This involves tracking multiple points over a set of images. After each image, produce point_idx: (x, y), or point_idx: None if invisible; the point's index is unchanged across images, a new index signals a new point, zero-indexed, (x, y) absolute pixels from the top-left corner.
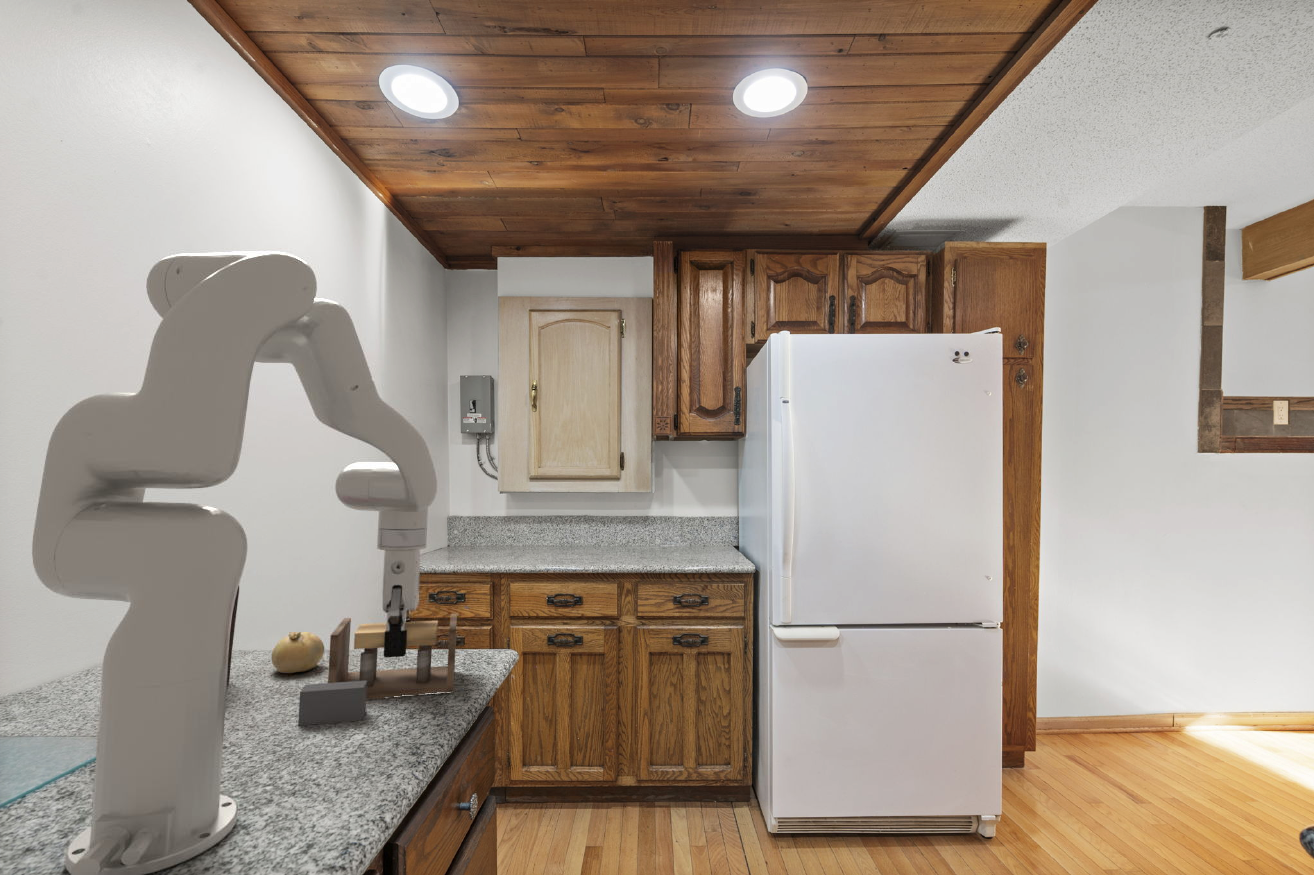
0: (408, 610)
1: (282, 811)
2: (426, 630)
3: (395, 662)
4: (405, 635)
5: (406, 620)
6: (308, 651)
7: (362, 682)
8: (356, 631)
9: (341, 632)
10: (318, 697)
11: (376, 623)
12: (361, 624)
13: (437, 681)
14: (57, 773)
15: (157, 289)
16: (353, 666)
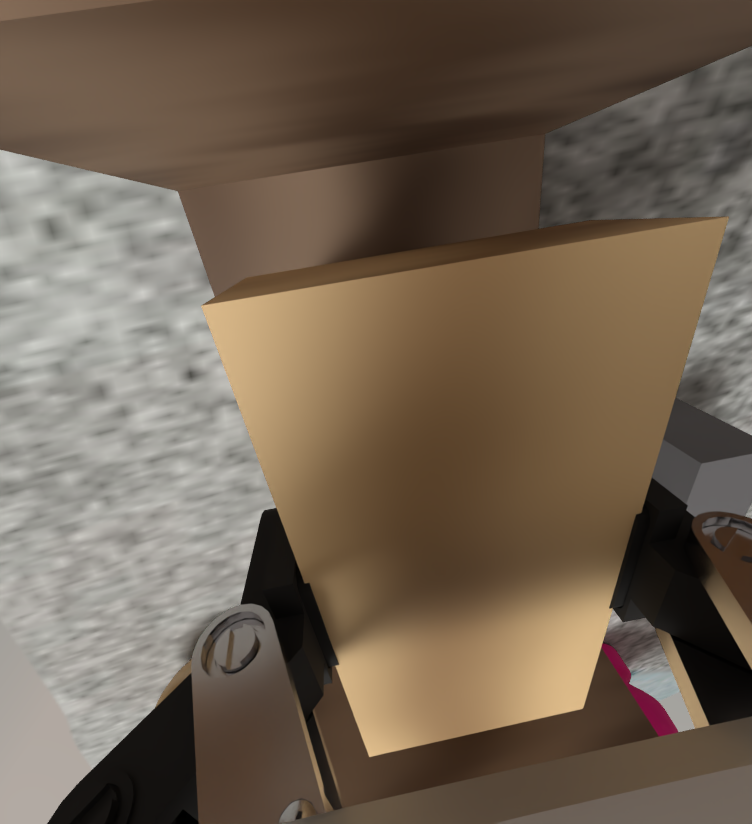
0: (299, 725)
1: None
2: (682, 340)
3: (101, 472)
4: (653, 483)
5: (288, 609)
6: None
7: (718, 469)
8: (543, 716)
9: (560, 747)
10: None
11: (358, 715)
12: (382, 751)
13: (444, 208)
14: (670, 679)
15: None
16: (183, 570)
